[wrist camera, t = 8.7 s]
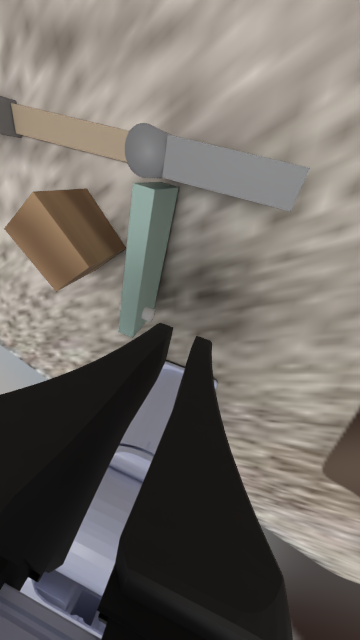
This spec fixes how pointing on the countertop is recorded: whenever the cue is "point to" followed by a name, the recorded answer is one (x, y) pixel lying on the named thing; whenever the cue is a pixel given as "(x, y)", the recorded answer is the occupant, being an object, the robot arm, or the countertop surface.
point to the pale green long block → (145, 252)
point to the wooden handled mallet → (164, 155)
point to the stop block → (64, 235)
